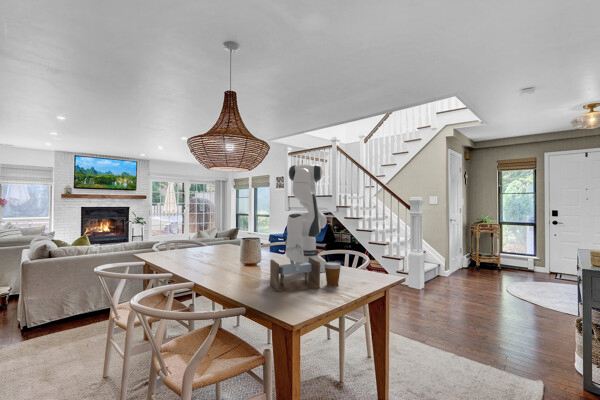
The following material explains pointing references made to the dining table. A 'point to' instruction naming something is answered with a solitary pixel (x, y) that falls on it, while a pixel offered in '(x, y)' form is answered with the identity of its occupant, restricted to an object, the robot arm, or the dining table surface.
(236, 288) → the dining table surface
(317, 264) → the shelf rack
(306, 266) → the shelf board
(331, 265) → the disposable coffee cup
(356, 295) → the dining table surface
